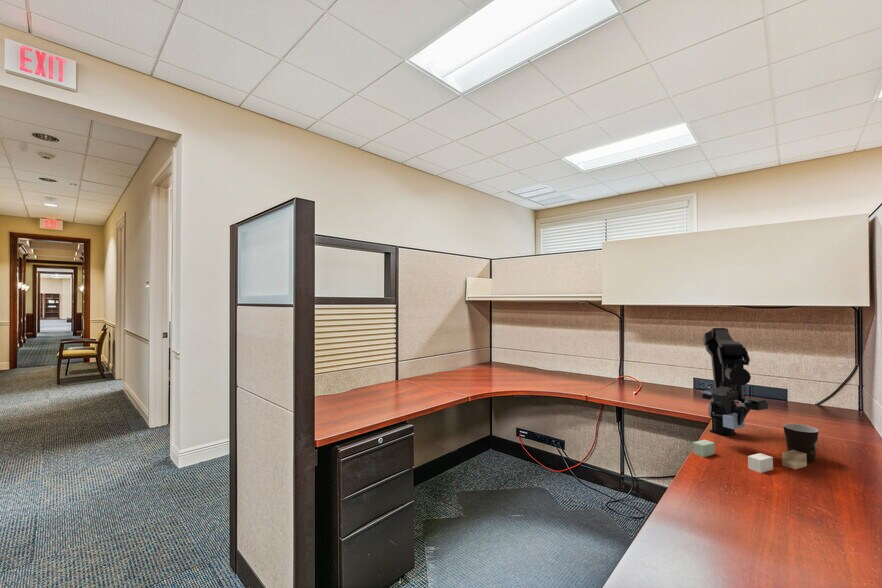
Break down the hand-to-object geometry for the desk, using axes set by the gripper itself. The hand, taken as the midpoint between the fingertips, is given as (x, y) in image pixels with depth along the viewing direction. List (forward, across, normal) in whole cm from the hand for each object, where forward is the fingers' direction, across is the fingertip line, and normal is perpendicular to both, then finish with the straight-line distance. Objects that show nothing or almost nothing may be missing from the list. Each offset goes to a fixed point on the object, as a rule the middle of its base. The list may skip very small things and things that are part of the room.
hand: (733, 423), depth 137 cm
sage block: (+9, -2, -13) cm, 16 cm away
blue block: (+1, 0, 0) cm, 1 cm away
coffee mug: (+9, +14, +13) cm, 21 cm away
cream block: (+9, +13, -9) cm, 18 cm away
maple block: (+9, +16, +3) cm, 19 cm away
